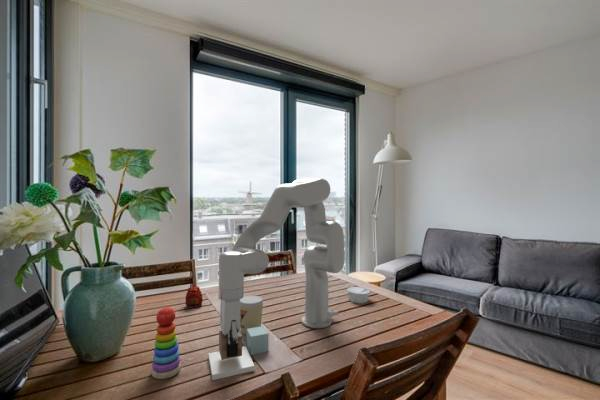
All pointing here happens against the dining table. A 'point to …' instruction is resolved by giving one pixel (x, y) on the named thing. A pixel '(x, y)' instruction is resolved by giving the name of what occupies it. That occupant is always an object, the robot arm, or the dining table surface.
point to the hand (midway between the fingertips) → (230, 349)
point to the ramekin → (358, 294)
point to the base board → (230, 364)
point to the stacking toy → (166, 346)
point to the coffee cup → (250, 312)
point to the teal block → (257, 340)
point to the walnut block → (223, 345)
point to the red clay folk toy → (193, 296)
